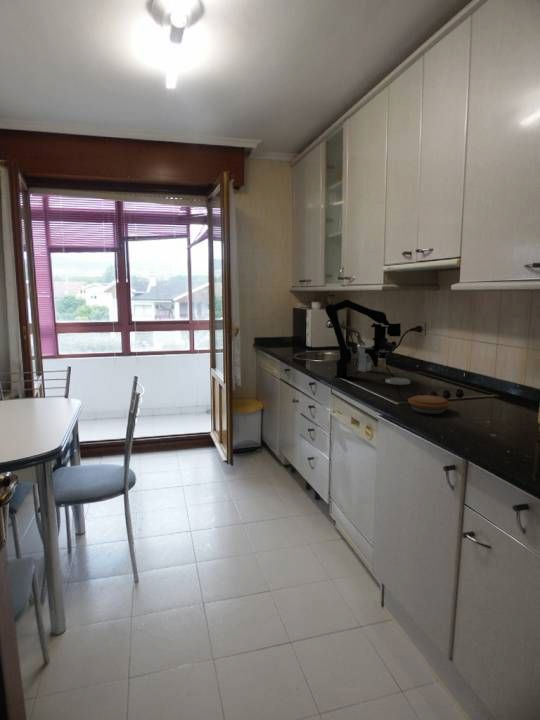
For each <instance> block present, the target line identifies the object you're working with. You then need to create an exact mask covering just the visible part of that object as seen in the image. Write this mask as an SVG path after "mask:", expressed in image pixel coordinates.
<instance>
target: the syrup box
mask: <svg viewBox="0 0 540 720" xmlns="http://www.w3.org/2000/svg"><path fill="white" fill-rule="evenodd" d="M372 346H373V345H369V344H368V345H367V344H363V345H358V352H357V353H358V354H357V372H364V373H367V372H371V371H372V359H371V357H370V355H368V354H365V349H366V348H372Z"/></svg>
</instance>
